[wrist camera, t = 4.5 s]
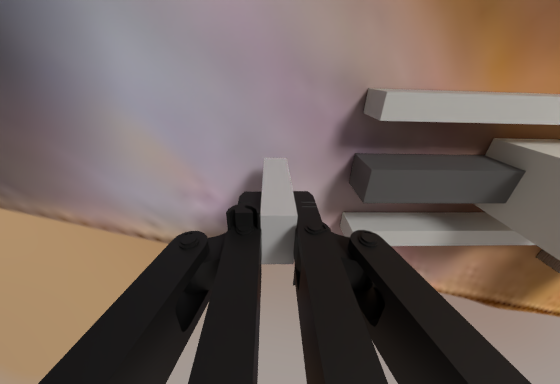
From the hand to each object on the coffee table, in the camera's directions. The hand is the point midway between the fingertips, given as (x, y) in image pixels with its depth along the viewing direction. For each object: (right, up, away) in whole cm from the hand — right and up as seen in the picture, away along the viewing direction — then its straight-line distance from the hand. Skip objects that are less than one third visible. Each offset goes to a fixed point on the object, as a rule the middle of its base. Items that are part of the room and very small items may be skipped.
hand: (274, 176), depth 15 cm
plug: (+14, +1, +2) cm, 14 cm away
